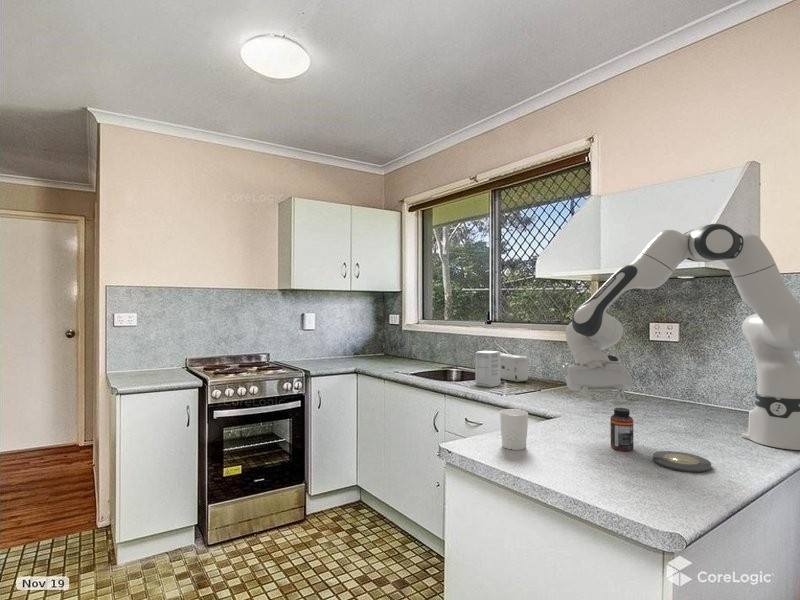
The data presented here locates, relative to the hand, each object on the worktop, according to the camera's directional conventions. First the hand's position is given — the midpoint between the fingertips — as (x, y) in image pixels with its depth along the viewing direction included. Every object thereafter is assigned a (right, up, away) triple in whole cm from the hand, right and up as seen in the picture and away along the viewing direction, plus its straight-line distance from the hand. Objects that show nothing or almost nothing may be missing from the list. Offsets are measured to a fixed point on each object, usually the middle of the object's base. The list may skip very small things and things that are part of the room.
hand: (607, 400), depth 142 cm
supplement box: (-19, -13, +93) cm, 96 cm away
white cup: (-30, -12, -6) cm, 33 cm away
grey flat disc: (+10, -12, -20) cm, 26 cm away
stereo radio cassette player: (-4, -13, +111) cm, 112 cm away
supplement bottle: (+1, -12, -8) cm, 15 cm away
